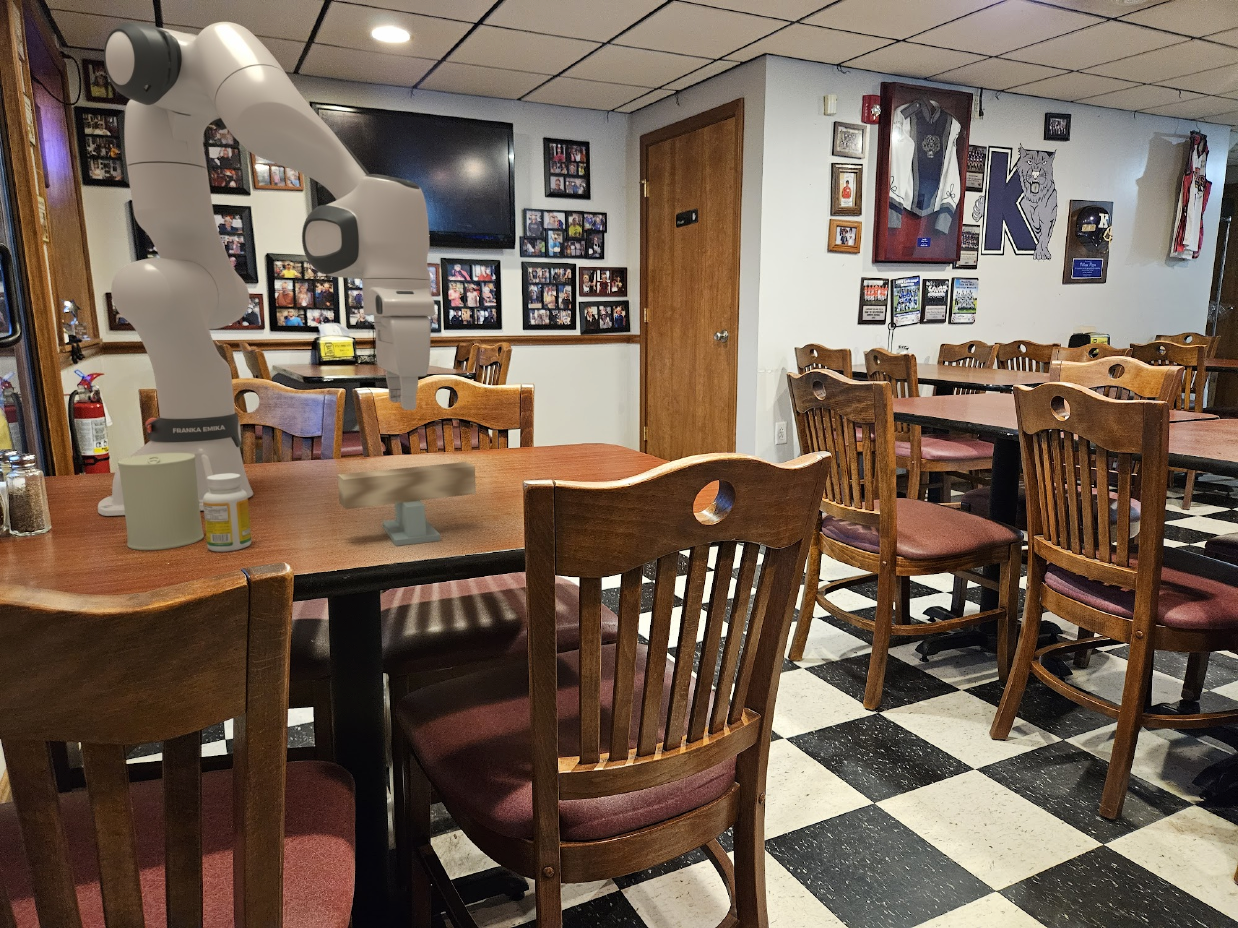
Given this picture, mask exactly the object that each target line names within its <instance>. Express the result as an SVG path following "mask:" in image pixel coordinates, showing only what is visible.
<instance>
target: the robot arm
mask: <svg viewBox="0 0 1238 928" xmlns="http://www.w3.org/2000/svg"><path fill="white" fill-rule="evenodd" d="M103 50H104V51H103V63H104V69H105V73H106V74H107V77H108V79H109V80H110V83H111V85H112V86H113V87H114V89H115V91H117V92H118V93H119V94H121V95H122V96H124V97H125V98H127V99H129V100H128V102H127V103H126V107H125V111H124V133H123V134H124V150H125V151H124V153H125V161H126V162H125V163H126V168H127V169H126V170H127V175H128V181H129V190H130V194H131V195H130V196H131V201H132V209H133V215H134V218H135V220H136V223H137V224H138V226H139V227H140V228H141V229H142V230H143V231H144V232H145V233H146V235H147V236H149V238H150V240H151V242H152V243H153V245H154V247H155V249H156V252H157V254H158V257H150V258H145V259H141V260H137V261H132V262H128V263H126V264H125V265H123V266H122V267H121V268H119V269H118V270H117V271H116V273H115V274H114V276H113V279H112V282H111V290H110V292H111V298H112V302H113V305H114V307H115V308H116V311H117V312H118V313H119V315H120V316H121V317H122V318H123V319H125V320H126V321H127V322H128V323H129V324H130V325H131V326H132V327H133V329H134V330H135V331H136V333H137V335H138V336H139V338H140V339H141V342H142V344H143V347H144V348H145V351H146V353H147V355H148V358H149V361H150V365H151V366H152V367H151V368H152V370H153V375H154V382H155V388H156V396H157V403H158V411H159V416H158V417H150V418H147V420H146V422H145V429H146V436H147V440H149V441H148V442H147V443H145V444H144V445H143V446H142V447H140V448H139V449H138V450H137V451H135V453H133V454H132V455H130V457H133V456H139V455H147V454H158V453H190V454H194V455H195V466H196V477H197V487H198V497H199V507H200V512H201V511H204V506H203V497H204V495H205V494H206V493H207V492H209V491H210V489H209V488H208V486H207V477H209V476H212V475H217V474H226V473H234V474H239V475H240V476H241V485H240V486H239V489H242V490H244V491H245V492H246V493H247V495H248V499H249V498H251V497H253V495H254V492H253V490H252V487H251V484H250V482H249V479H248V476H247V474H246V470H245V466H244V461H243V458H242V454H241V448H240V446H241V445H242V444H241V443H242V435H241V434H242V432H241V422H240V419H239V415H238V413H237V412H236V409H235V399H234V398H235V397H234V389H233V387H234V386H233V380H232V378H233V377H232V371H231V370H232V369H231V367H230V365H229V363H228V362H227V361H226V359H224V358H223V357H222V356H221V354H220V353H219V351H218V349H217V346H216V345H215V343H214V342H215V341H213V340H214V339H213V337H212V334H211V331H210V330H215V329H222V328H224V327H226V326H229V325H231V324H233V323H236V322H237V321H239V320H241V318H243V317H244V315H245V314H246V313H247V311H248V308H249V305H250V292H249V289H248V286H247V284H246V282H245V281H244V280H243V278H242V277H241V276H240V275H239V274H238V272H236V269H234V267H233V265H232V263H231V261H230V258H229V256H228V253H227V251H226V248H225V246H224V243H223V240H222V238H221V236H220V235H221V234H220V232H219V230H218V226H217V223H216V219H215V214H214V208H213V201H212V200H213V199H212V194H211V188H210V181H209V175H208V174H209V173H208V167H207V166H208V165H207V161H206V159H207V158H206V154H205V148H204V133H205V130H206V129H207V127H208V126H209V125H210V124H211V125H212V126H214V127H215V128H216V129H218V130H219V131H224V130H228V131H229V133H230V134H231V135H232V137H233V138H234V139H236V140H237V141H238V142H239V143H240V144H241V146H243V147H244V148H245V149H246V150H247V151H248V152H249V153H251V154H253V155H254V156H256V157H258V158H261V159H263V160H265V161H269V162H272V163H274V164H277V165H280V166H282V167H284V168H288V169H290V170H293V171H295V172H298V173H299V174H302V175H304V176H307V177H308V178H311V179H312V180H313V181H316V182H317V183H319V184H320V185H322V186H323V187H324V188H326V190H328V191H329V192H330V194H332V196H333V198H335V201H332V202H329V203H328V204H321V205H318V206H316V207H315V208H314V209H313V210H311V211H310V213H309V214H308V215H307V217H306V219H305V221H304V223H303V226H302V233H301V243H302V249H303V252H304V255H305V258H306V259H307V261H308V263H309V264H310V266H311V267H312V268H313V269H314V270H315V271H317V272H318V273H320V274H322V275H326V276H329V277H335V278H342V279H343V278H345V279H353V280H356V279H357V280H361V284H362V286H361V287H362V302H363V303H362V304H363V305H362V307H363V315H364V316H373V322H374V323H373V325H374V328H375V355H376V364H377V367H378V368H380V369H382V370H385V378H386V379H385V380H386V384H387V388H388V389H387V390H388V400H389V401H390V402H391V403H393V404H395V403H397V404H398V403H400V407H401V409H402V410H405V411H414V410H416V409H417V393H418V387H419V377H425V376H427V375H428V372H429V367H430V359H431V333H432V331H431V329H432V328H431V324H432V323H431V319H430V317H432V318H433V317H434V316H435V314H436V312H435V311H436V309H435V306H436V305H435V300H434V298H433V296H432V281H431V280H432V278H431V273H430V271H429V267H428V256H429V251H430V228H429V217H428V209H427V202H426V199H425V196H424V193H423V191H422V188H421V186H419V185H418V184H417V183H416V182H414V181H412V180H410V179H403V178H399V177H394V176H390V175H384V174H378V173H370V172H369V171H368V170H367V169H366V167H365V166H364V165H363V163H362V162H361V161H360V160H359V159H358V158H357V156H356V154H354V152H353V151H352V150H351V149H350V148H349V146H348V145H347V144H346V143H345V142H344V141H343V140H342V139H341V138H340V137H339V136H338V135H337V134H336V133H335V132H334V130H332V129H331V128H330V127H329V125H328V124H327V123H326V122H324V120H323V119H322V118H321V117H320V116H319V115H318V114H317V113H316V111H315V110H314V108H312V107H311V106H310V104H309V103H308V102H307V100H306V99H305V98H304V97H303V95H302V94H301V93H300V92H299V90H298V89H297V87H296V86H295V85H294V83H293V82H292V80H291V79H290V77H289V76H288V74H287V73H286V72H285V70H284V69H283V67H282V65H280V63H279V61H277V59H276V58H275V56H274V55H273V53H271V51H270V50H269V49H268V48H267V47H266V46H265V45H264V44H263V42H262V41H261V40H260V39H259V38H258V37H257V36H255V35H254V33H252V32H251V31H250V30H249V29H247V28H246V27H244V26H243V25H241V24H239V23H235V22H230V21H220V22H214V23H211V24H210V25H208V26H206V27H204V28H203V29H201V31H200V32H199V33H198V34H193V33H191V32H189V33H185V32H181V31H178V30H173V29H167V28H162V27H157V26H156V25H153V24H151V23H145V22H121V23H119V24H117V25H116V26H115V27H114V28H113V29H112V30H111V31H110V32H109V34H108V35H107V37H106V40H105V43H104V49H103ZM111 486H112V488H111V489H112V492H111V494H112V495H109V496H107V497H104V498H103V499H101V500H100V501H99V502H98V504H97V512H98V514H99V515H101V516H106V517H110V516H111V517H112V516H125V509H124V501H123V493H122V486H121V478H120V471H119V466H118V468H117V469H116V470H115V472H114V476H113V480H112V485H111Z"/></svg>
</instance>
